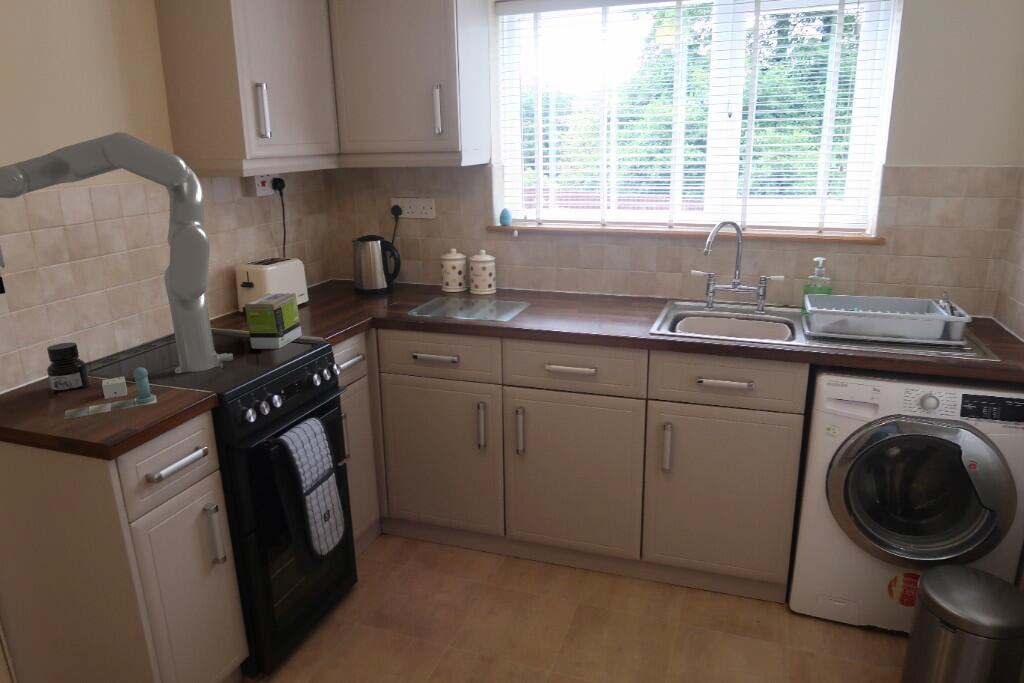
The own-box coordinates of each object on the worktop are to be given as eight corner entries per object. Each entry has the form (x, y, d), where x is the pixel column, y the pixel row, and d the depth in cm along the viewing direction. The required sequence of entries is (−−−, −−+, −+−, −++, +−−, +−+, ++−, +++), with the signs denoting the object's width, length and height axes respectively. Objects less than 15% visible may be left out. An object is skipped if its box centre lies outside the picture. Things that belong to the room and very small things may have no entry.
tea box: (274, 335, 242) (269, 292, 237) (302, 336, 239) (297, 292, 235) (250, 348, 227) (243, 302, 223) (279, 349, 225) (273, 303, 221)
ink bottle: (43, 394, 192) (33, 351, 189) (62, 383, 201) (53, 342, 197) (79, 393, 192) (70, 350, 189) (97, 382, 201) (89, 340, 197)
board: (156, 399, 185) (155, 394, 185) (158, 407, 179) (157, 402, 179) (66, 415, 176) (65, 410, 176) (64, 424, 170) (63, 419, 170)
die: (127, 394, 190) (124, 376, 188) (128, 400, 186) (124, 381, 184) (105, 398, 188) (101, 379, 186) (105, 404, 183) (101, 385, 182)
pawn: (154, 396, 183) (148, 364, 181) (154, 401, 180) (148, 368, 177) (136, 399, 181) (130, 366, 179) (136, 404, 178) (130, 371, 176)
